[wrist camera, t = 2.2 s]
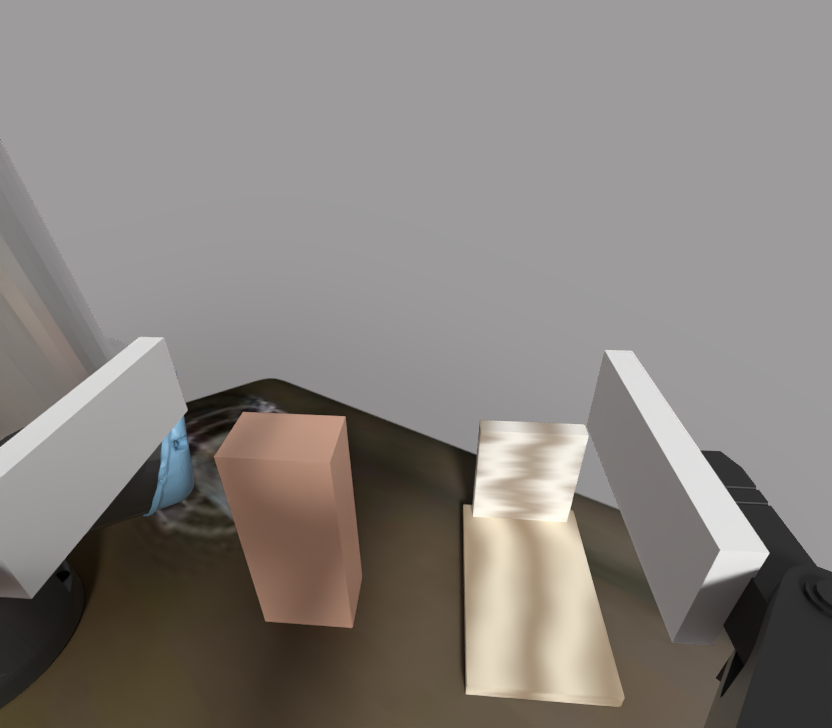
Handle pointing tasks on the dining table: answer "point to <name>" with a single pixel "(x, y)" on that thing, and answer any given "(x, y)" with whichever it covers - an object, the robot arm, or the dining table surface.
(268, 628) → the dining table surface
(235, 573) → the dining table surface
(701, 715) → the dining table surface
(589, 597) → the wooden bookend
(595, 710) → the dining table surface
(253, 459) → the salmon pink rectangular block
